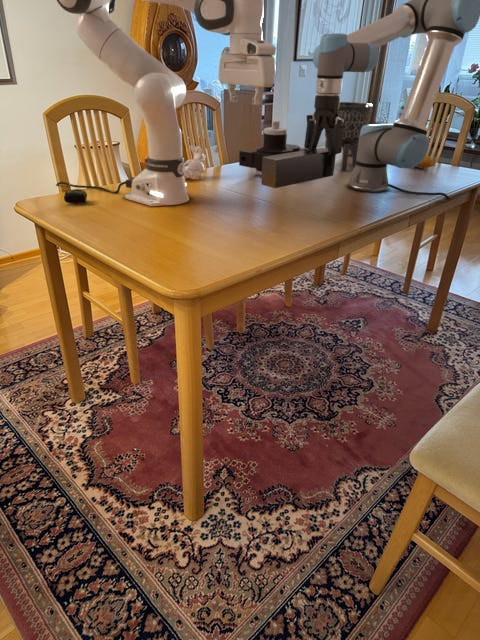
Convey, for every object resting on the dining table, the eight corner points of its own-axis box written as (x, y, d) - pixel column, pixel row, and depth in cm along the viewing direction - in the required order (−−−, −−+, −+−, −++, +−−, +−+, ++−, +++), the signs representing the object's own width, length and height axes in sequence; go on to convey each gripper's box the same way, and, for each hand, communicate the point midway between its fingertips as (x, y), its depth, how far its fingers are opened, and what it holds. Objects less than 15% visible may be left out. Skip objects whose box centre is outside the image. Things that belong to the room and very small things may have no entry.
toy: (410, 161, 206) (404, 154, 219) (412, 175, 209) (406, 167, 222) (436, 153, 203) (428, 146, 216) (438, 167, 206) (430, 160, 219)
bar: (319, 172, 151) (322, 147, 147) (333, 175, 147) (336, 150, 143) (261, 184, 136) (262, 156, 132) (274, 188, 132) (276, 160, 128)
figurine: (211, 176, 188) (211, 144, 182) (188, 183, 178) (187, 149, 171) (196, 173, 192) (195, 142, 186) (172, 180, 181) (170, 146, 175)
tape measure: (64, 205, 148) (62, 194, 146) (68, 199, 154) (66, 188, 152) (86, 205, 149) (84, 193, 147) (89, 199, 155) (87, 188, 153)
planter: (313, 167, 208) (319, 103, 195) (331, 160, 222) (338, 101, 209) (353, 173, 199) (362, 107, 185) (369, 166, 213) (379, 104, 199)
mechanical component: (240, 120, 182) (283, 115, 202) (239, 174, 192) (280, 164, 212) (283, 126, 170) (325, 120, 190) (280, 183, 180) (320, 171, 200)
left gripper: (213, 46, 127) (213, 101, 134) (262, 46, 114) (260, 107, 121) (230, 47, 131) (229, 100, 138) (280, 47, 118) (277, 106, 125)
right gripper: (296, 93, 139) (290, 170, 151) (345, 97, 127) (335, 181, 139) (312, 92, 143) (305, 167, 155) (361, 96, 131) (350, 177, 143)
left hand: (244, 103), depth 130 cm, fingers open, 8 cm apart
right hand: (319, 173), depth 147 cm, fingers closed on bar, 6 cm apart
